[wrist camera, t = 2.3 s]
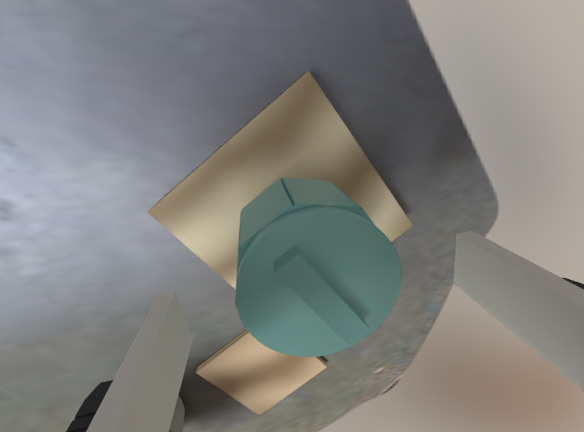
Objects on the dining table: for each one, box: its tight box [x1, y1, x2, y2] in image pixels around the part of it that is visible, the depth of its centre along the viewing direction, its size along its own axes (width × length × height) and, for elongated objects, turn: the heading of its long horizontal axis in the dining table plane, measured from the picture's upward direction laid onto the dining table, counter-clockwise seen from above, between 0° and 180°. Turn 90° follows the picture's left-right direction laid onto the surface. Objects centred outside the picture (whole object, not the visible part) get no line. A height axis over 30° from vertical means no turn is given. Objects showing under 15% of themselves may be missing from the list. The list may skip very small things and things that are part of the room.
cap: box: [235, 177, 401, 357], centre depth 15 cm, size 7×7×7 cm
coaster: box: [196, 329, 327, 416], centre depth 27 cm, size 9×9×1 cm
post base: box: [148, 71, 413, 289], centre depth 18 cm, size 14×14×10 cm
